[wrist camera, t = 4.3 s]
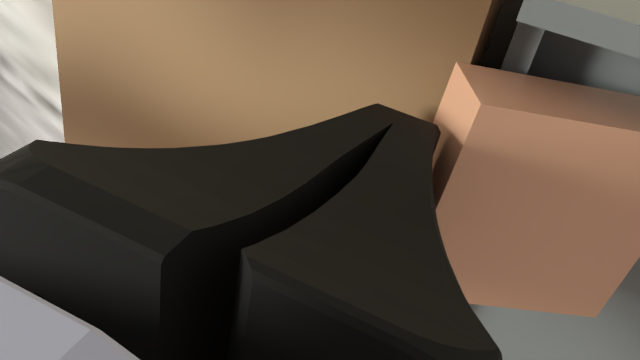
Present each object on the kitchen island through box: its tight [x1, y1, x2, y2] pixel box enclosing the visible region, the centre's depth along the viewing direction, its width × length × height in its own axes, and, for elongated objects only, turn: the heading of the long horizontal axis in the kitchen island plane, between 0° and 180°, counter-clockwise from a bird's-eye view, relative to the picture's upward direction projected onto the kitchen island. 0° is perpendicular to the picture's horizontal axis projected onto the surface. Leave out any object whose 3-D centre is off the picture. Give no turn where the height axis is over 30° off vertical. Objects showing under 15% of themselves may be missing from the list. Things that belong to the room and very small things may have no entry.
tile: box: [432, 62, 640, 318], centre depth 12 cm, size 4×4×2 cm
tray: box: [469, 0, 640, 360], centre depth 13 cm, size 14×10×3 cm
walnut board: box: [52, 0, 504, 148], centre depth 16 cm, size 14×10×2 cm
